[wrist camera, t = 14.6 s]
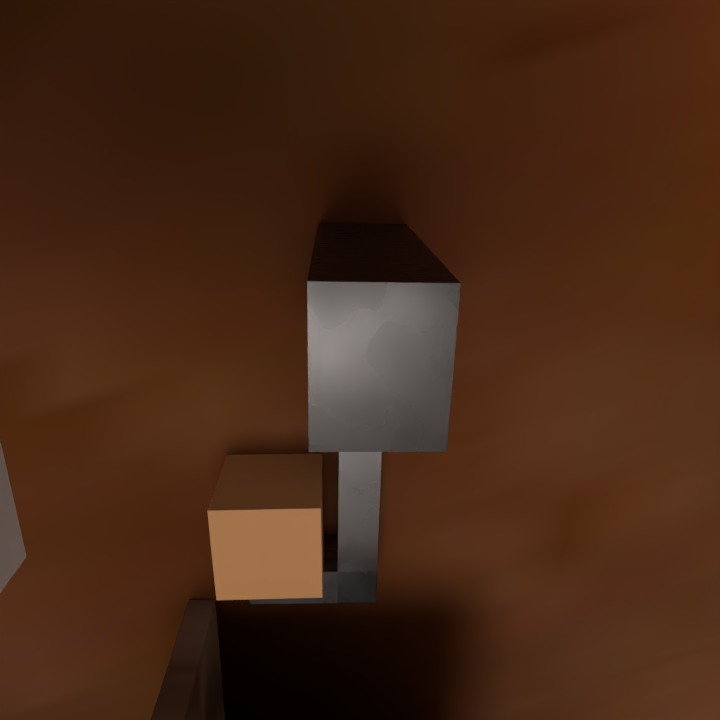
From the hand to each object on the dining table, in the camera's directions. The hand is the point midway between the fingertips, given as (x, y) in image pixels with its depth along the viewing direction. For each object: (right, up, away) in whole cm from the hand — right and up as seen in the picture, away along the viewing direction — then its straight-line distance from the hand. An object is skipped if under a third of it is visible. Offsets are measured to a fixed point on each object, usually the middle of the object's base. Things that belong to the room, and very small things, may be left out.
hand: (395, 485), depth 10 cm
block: (-5, -5, +21) cm, 22 cm away
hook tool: (-2, -1, +19) cm, 20 cm away
